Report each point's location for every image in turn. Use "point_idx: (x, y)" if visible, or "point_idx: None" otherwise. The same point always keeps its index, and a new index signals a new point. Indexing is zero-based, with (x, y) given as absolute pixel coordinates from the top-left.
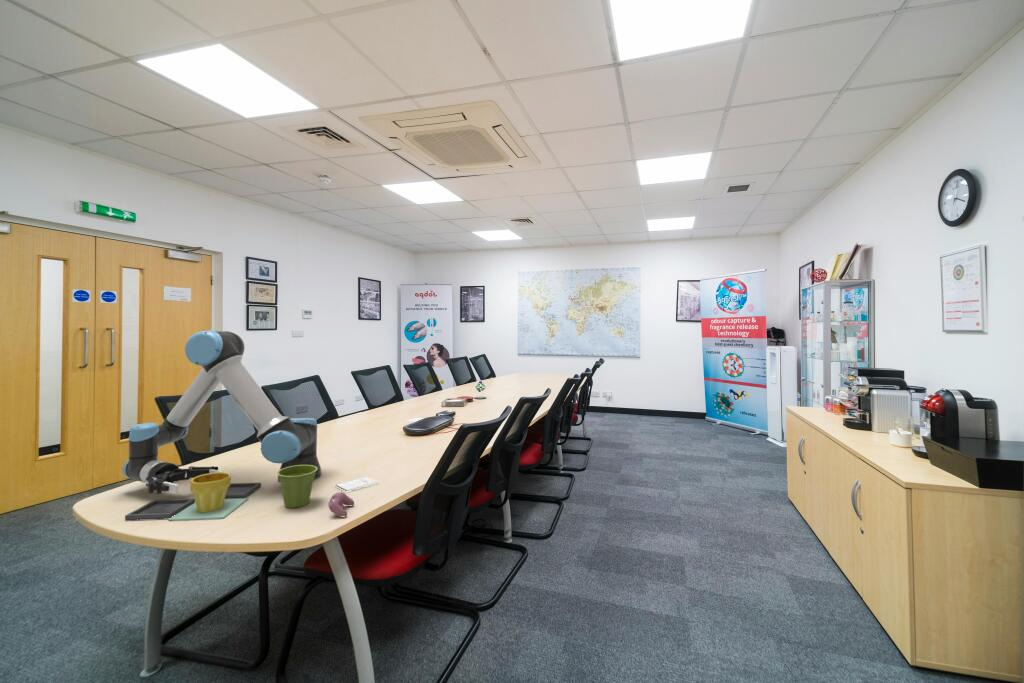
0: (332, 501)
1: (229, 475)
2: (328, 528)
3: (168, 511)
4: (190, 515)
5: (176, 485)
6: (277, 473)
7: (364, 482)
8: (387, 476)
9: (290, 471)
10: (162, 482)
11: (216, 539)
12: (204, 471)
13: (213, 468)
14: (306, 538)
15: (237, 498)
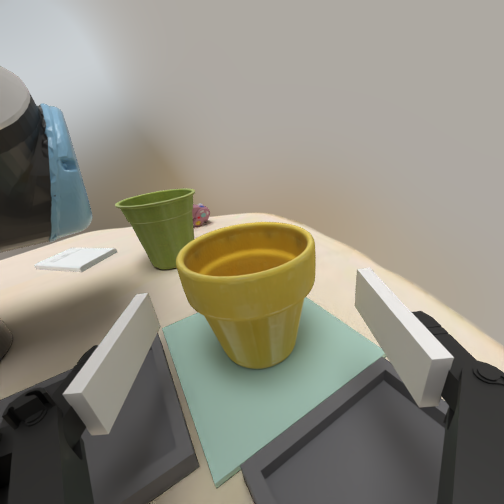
0: (203, 205)
1: (203, 236)
2: (234, 216)
3: (381, 450)
4: (323, 331)
5: (367, 269)
6: (183, 196)
7: (74, 252)
8: (31, 259)
9: (137, 215)
10: (459, 385)
11: (323, 241)
12: (66, 459)
13: (41, 398)
14: (260, 213)
15: (164, 353)
